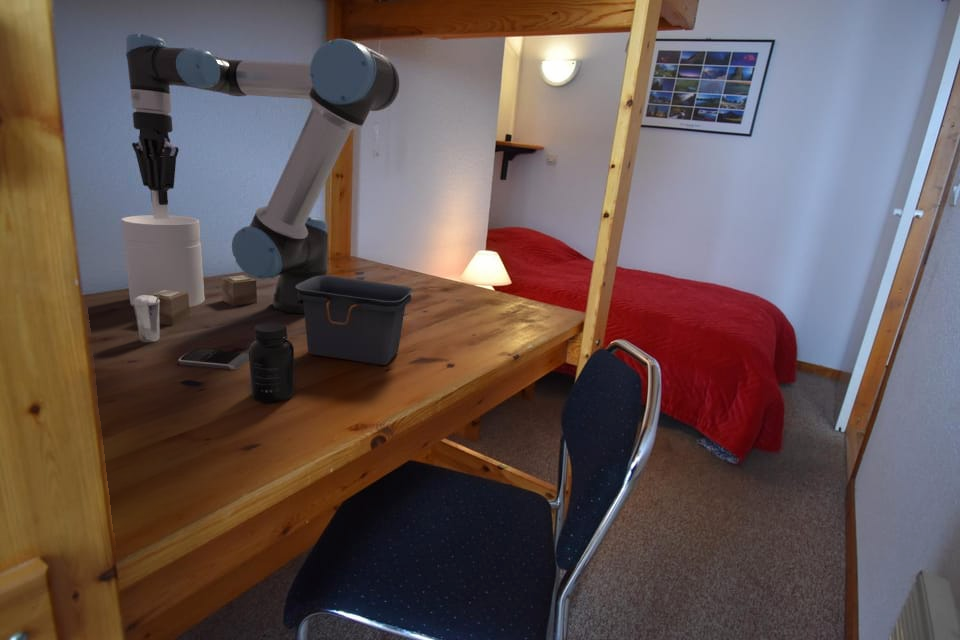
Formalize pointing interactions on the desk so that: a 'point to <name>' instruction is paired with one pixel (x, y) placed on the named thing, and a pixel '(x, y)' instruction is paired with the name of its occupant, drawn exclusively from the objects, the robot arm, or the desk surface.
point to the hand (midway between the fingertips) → (161, 218)
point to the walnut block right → (239, 290)
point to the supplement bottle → (271, 364)
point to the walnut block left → (173, 306)
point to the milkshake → (147, 317)
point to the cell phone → (214, 359)
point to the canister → (163, 256)
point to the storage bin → (353, 318)
